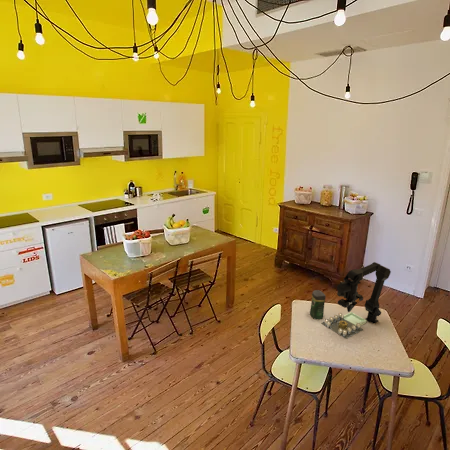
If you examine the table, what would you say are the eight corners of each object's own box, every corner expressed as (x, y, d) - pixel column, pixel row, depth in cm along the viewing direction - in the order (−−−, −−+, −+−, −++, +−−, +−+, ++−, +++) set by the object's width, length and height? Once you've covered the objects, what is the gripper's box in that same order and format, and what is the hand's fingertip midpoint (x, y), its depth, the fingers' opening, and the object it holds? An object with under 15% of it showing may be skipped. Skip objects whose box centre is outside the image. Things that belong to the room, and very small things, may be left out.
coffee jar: (324, 319, 230) (327, 295, 224) (313, 320, 228) (316, 296, 223) (318, 312, 239) (321, 288, 233) (308, 312, 238) (310, 289, 232)
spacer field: (337, 316, 234) (338, 310, 233) (363, 330, 219) (364, 325, 218) (320, 324, 224) (321, 318, 223) (345, 340, 209) (346, 334, 208)
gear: (341, 322, 226) (342, 319, 225) (349, 326, 221) (349, 323, 221) (336, 325, 223) (337, 322, 222) (343, 329, 218) (344, 326, 218)
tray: (350, 315, 236) (351, 312, 235) (366, 323, 227) (366, 320, 226) (342, 318, 231) (343, 315, 231) (358, 327, 222) (358, 324, 221)
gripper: (350, 281, 224) (347, 302, 229) (332, 288, 214) (329, 310, 219) (365, 288, 216) (361, 309, 220) (346, 296, 205) (343, 318, 210)
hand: (348, 311), depth 218 cm, fingers closed
